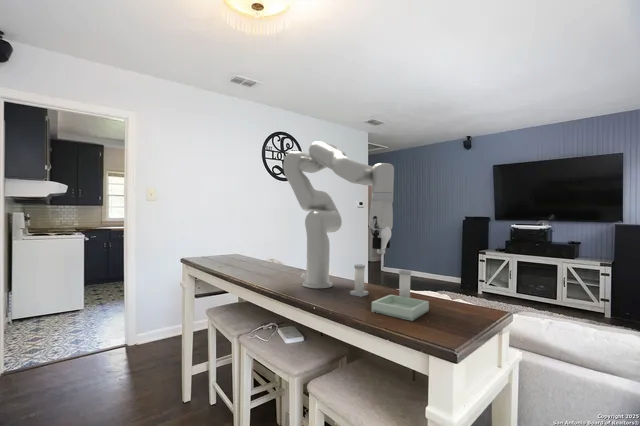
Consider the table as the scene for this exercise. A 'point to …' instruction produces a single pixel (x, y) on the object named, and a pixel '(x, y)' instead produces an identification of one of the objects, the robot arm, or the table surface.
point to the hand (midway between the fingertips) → (381, 247)
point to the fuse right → (404, 283)
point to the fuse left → (359, 281)
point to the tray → (400, 307)
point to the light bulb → (384, 239)
